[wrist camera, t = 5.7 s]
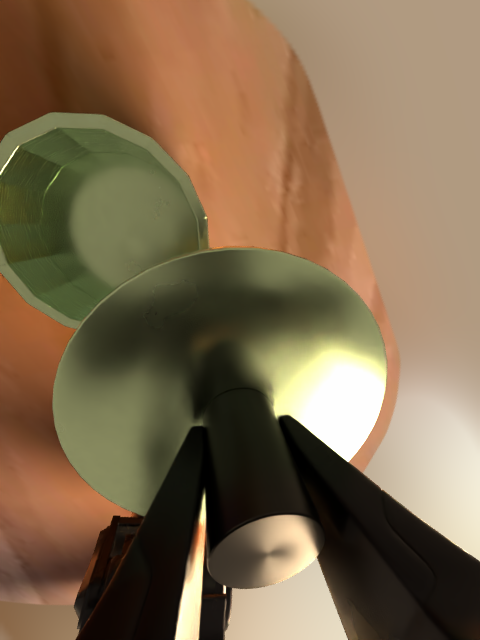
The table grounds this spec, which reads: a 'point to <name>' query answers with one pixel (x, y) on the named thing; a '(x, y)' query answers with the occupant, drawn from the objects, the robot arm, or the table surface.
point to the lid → (223, 395)
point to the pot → (89, 210)
